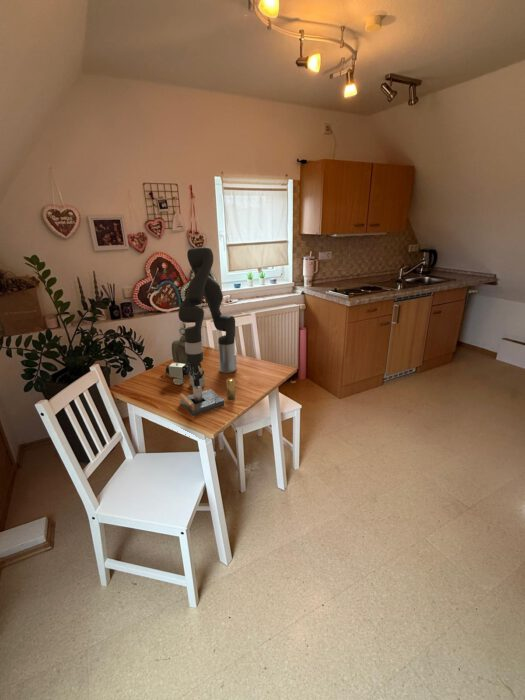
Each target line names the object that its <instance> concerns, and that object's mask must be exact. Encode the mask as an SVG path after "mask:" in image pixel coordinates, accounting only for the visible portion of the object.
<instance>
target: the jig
mask: <svg viewBox="0 0 525 700" xmlns="http://www.w3.org/2000/svg"><path fill="white" fill-rule="evenodd" d="M202 400H203V402H201V403H198V404H194V397H193V393H192V394H189V395H184V393H180V394H179V401H180V404H181V405H182V407H184V409H185V410H186V411H187V412H188V414H189V413H190V415H191V416H192V417H196V416H198V415H202V414H204V413H207V412H210V411H213V410H216V409H218V408H222V407H225V399H224V398H222V397H221V396H220V395H219V394H217V392H215V391H214V390H212V389H211V388H209V389H206V390H202Z"/></svg>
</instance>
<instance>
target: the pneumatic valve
mask: <svg viewBox="0 0 525 700" xmlns="http://www.w3.org/2000/svg"><path fill="white" fill-rule="evenodd" d="M189 372H190V371H189V368H188V366H187V364H182V363H176V362H171V363H170V364H168V365H167V366H166V367H165V373H166V374H167V375H168V378H173V380H172V381H173V383H174V385H176V386H177V385H178V386H181V385H182V384H184V383H185V378H186V377H187V376H190V373H189Z"/></svg>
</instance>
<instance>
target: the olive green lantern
mask: <svg viewBox="0 0 525 700" xmlns="http://www.w3.org/2000/svg"><path fill="white" fill-rule="evenodd" d="M185 329H186V328H183V327H181V328H179V333H180V335H182V336H180V339H176V340H173V341H172V343H171V355H172V359H173V363H182V364H189V362H187V361H186V351H185V332H183V333H182V332H181V331H182V330H183V331H185ZM187 366H188V365H187Z"/></svg>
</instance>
